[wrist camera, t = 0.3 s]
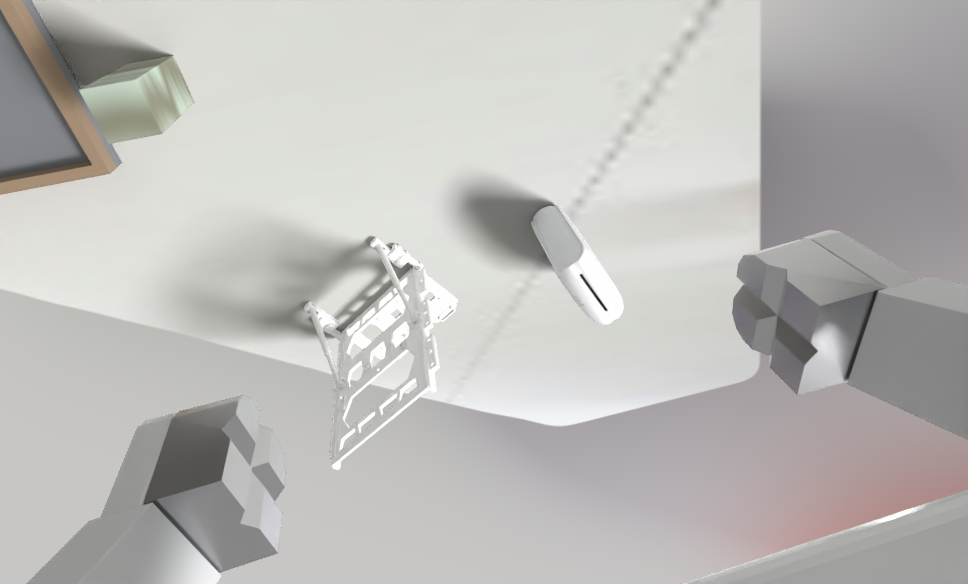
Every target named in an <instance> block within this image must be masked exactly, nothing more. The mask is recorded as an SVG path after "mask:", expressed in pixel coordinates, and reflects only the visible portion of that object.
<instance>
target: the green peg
mask: <svg viewBox="0 0 968 584" xmlns="http://www.w3.org/2000/svg"><path fill="white" fill-rule="evenodd" d="M79 92H80V93H81V95H82V97H83V99H84V101H85V102H86V104H87V106H88V108H89V109H90V111H91V113H92V115H93V117H94V118H95V120H96V122H97V124H98V126H99V127H100V129H101V131H102V133H103V134H104V136H105V138H106V140H107V142H108V143H109V144H111V143H116V142H121V141H127V140H132V139H137V138H143V137H148V136H153V135H159V134H162V133H163V132H164V131H165V130H167V129H168V128H169V127H170V126H171V125H172V124H173V123H174V122H175V121H176V120H177V119H178V118H179V117H180V116H181V115H182V114H183V113H184V112H185V111H186V110H187V109H188V108H189V107H190V106H191V105H192V104H193V103H194V101H193V98H192V96H191V94H190V92H189V89H188V87H187V85H186V83H185V80H184V78H183V76H182V74H181V71H180V69H179V67H178V65H177V62H176V60H175V58H174V55H173V56H168V57H162V58H157V59H151V60H146V61H140V62H134V63H129V64H125V65H123V66H122V67H120V68H118V69H116V70H114V71H113V72H111V73H109V74H107V75H105V76H103V77H102V78H100V79H98V80H96V81H94V82H92V83H91V84H89V85H87V86H85V87H83V88H82V89H80V90H79Z"/></svg>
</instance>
